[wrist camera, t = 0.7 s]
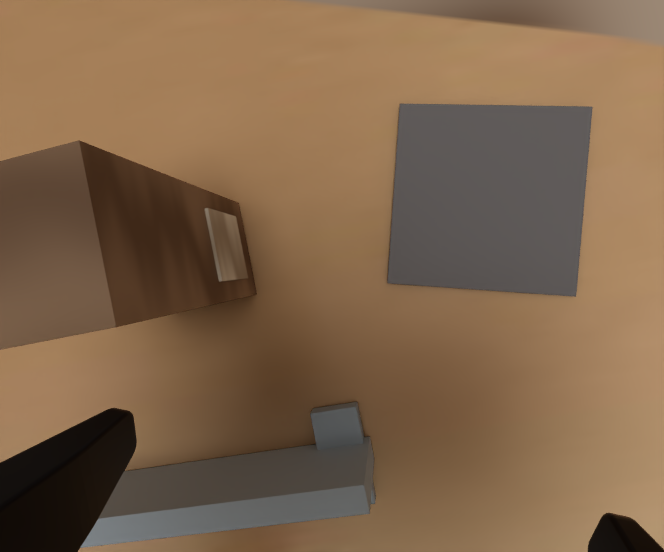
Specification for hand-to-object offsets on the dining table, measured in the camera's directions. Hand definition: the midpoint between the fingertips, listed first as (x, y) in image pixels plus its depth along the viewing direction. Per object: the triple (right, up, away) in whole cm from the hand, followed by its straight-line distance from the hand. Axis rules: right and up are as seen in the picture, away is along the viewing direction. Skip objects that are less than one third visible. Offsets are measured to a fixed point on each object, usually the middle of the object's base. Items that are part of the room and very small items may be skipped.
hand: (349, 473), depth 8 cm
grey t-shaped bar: (-7, -7, +16) cm, 19 cm away
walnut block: (-7, +5, +15) cm, 18 cm away
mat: (+7, +8, +13) cm, 17 cm away
